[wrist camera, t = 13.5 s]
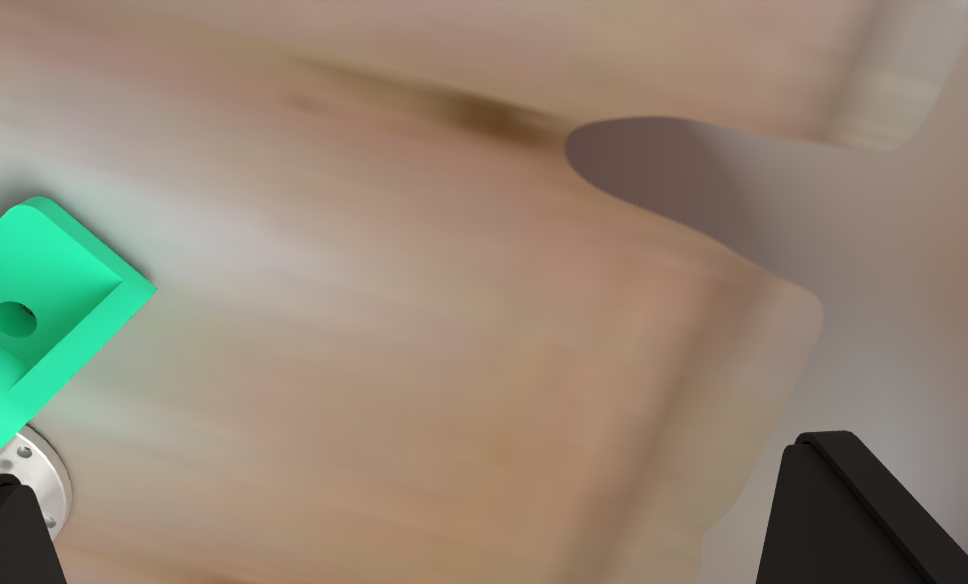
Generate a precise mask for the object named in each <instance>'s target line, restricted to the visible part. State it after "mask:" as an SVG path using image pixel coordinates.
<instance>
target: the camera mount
mask: <svg viewBox="0 0 968 584" xmlns="http://www.w3.org/2000/svg"><path fill="white" fill-rule="evenodd" d="M156 290H157V288H156V287H155V286H154V285H152V284H151V283H150V282H149V281H148V280H147V279H145V278H144V277H143V276H142V275H141V274H139V273H138V272H137V271H136V270H135V269H133V268H132V267H131V266H130V265H129V264H128V263H126V262H125V261H124V260H123V259H122V258H120V257H119V256H118V255H117V254H116V253H114V252H113V251H112V250H111V249H110V248H109V247H107V246H106V245H105V244H104V243H103V242H101V241H100V240H99V239H98V238H97V237H95V236H94V235H93V234H92V233H91V232H90V231H88V230H87V229H86V228H85V227H84V226H82V225H81V224H80V223H79V222H78V221H76V220H75V219H74V218H73V217H72V216H71V215H69V214H68V213H67V212H66V211H65V210H63V209H62V208H61V207H60V206H59V205H57V204H56V203H55V202H54V201H52V200H50V199H48V198H45V197H41V196H35V197H31V198H29V199H27V200H25V201H23V202H21V203H19V204H17V205H16V206H14V207H12V208H10V209H9V210H8V211H7V212H6V213H5V214H4V215H3V216H2V217H1V218H0V448H1V447H2V446H3V445H5V444H6V443H7V442H8V441H9V440H10V439H11V438H12V437H13V436H14V435H15V434H16V433H17V432H18V431H19V430H20V429H21V428H22V427H23V426H24V425H25V424H26V423H27V422H28V421H29V420H30V419H31V418H32V417H33V416H34V415H35V414H36V413H37V412H38V411H39V410H40V409H41V408H42V407H43V406H44V405H45V404H46V403H47V402H48V401H49V400H50V399H51V398H52V397H53V396H54V395H55V394H56V393H57V392H58V391H59V390H60V389H61V388H62V387H63V386H64V385H65V384H66V382H67V381H68V380H69V379H70V378H71V377H72V376H73V375H74V374H75V373H76V372H77V371H78V370H79V369H80V368H81V367H82V366H83V365H84V364H85V363H86V362H87V361H88V360H89V359H90V358H91V357H92V356H93V355H94V354H95V353H96V352H97V351H98V350H99V349H100V348H101V347H102V346H103V345H104V344H105V343H106V342H107V341H108V340H109V339H110V338H111V337H112V336H113V335H114V334H115V333H116V332H117V331H118V330H119V329H120V327H121V326H122V325H123V324H124V323H125V322H126V321H127V320H128V319H129V318H130V317H131V316H132V315H133V314H134V313H135V312H136V311H137V310H138V309H139V308H140V307H141V306H142V305H143V304H144V303H145V302H146V301H147V300H148V299H149V298H150V297H151V295H152V294H153V293H154V292H155V291H156ZM19 303H20V304H23V305H25V306H26V307H28V308H29V309H30V310H31V311H32V312H33V314H34V315H35V316H32V315H30V314H28V313H27V312H26V311H25V310H24V309H23V308H22V307H21V306H20V304H19Z"/></svg>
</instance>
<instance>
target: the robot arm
mask: <svg viewBox="0 0 968 584" xmlns="http://www.w3.org/2000/svg"><path fill="white" fill-rule="evenodd" d="M71 504H72V489H71V483H70V480H69V477H68V474H67V470H66V469H65V467H64V465H63V463H62V462H61V460H60V458H59V456H58V455H57V454H56V453H55V451H54V450H53V449H52V448H51V447H50V446H49V444H48V443H47V442H46V441H45V440H44V439H43V438H42V437H40V436H39V435H38V434H37V433H36V432H34V431H33V430H32V429H31V428H29V427H28V426H26V425H24V426H23V427H22V428H21V429H20V430H19V431H18V432H17V433H16V434H15V435H14V436H13V437H12V438H11V439H10V440H9V441H8V442H7V443H6V444H5V445H3V446H2V447H1V448H0V584H67V582H66V580H65V577H64V574H63V571H62V568H61V565H60V562H59V560H58V557H57V554H56V551H55V548H54V545H53V542H52V541H53V540H54V539H55V537H56V536H57V534H58V533H59V532H60V530H61V529H62V527H63V526H64V524H65V522H66V520H67V518H68V516H69V514H70V509H71ZM756 584H968V555H967V554H966V553H965V552H964V551H963V550H962V549H961V548H960V546H958V544H957V543H956V542H955V541H954V540H953V539H952V538H951V537H950V536H949V535H948V534H947V533H946V532H945V530H944V529H943V528H941V526H940V525H939V524H938V523H937V522H936V521H935V520H934V519H933V518H932V517H931V515H930V514H929V513H928V512H927V511H926V510H925V509H924V508H923V507H922V506H921V505H920V504H919V503H918V502H917V501H916V499H915V498H914V497H913V496H912V495H911V494H910V493H909V492H908V491H907V490H906V489H905V488H904V486H903V485H902V484H901V483H900V482H899V481H898V480H897V479H896V478H895V477H894V476H893V475H892V474H891V473H890V471H888V470H887V468H886V467H885V466H884V465H883V464H882V463H881V462H880V461H879V460H878V459H877V458H876V457H875V455H874V454H873V453H871V451H870V450H869V449H868V448H867V447H866V446H865V445H864V444H863V443H862V442H861V440H860V439H859V438H858V437H857V436H855V435H854V434H853V433H852V432H849V431H845V430H844V431H826V432H825V431H824V432H806V433H802V434H800V435H799V436H798V437H797V439H796V441H795V444H794V445H788V446H787V447H786V448H785V449H784V452H783V455H782V460H781V465H780V470H779V474H778V479H777V484H776V489H775V494H774V498H773V503H772V508H771V513H770V518H769V522H768V527H767V532H766V537H765V542H764V546H763V551H762V556H761V560H760V565H759V570H758V575H757V580H756Z"/></svg>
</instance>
